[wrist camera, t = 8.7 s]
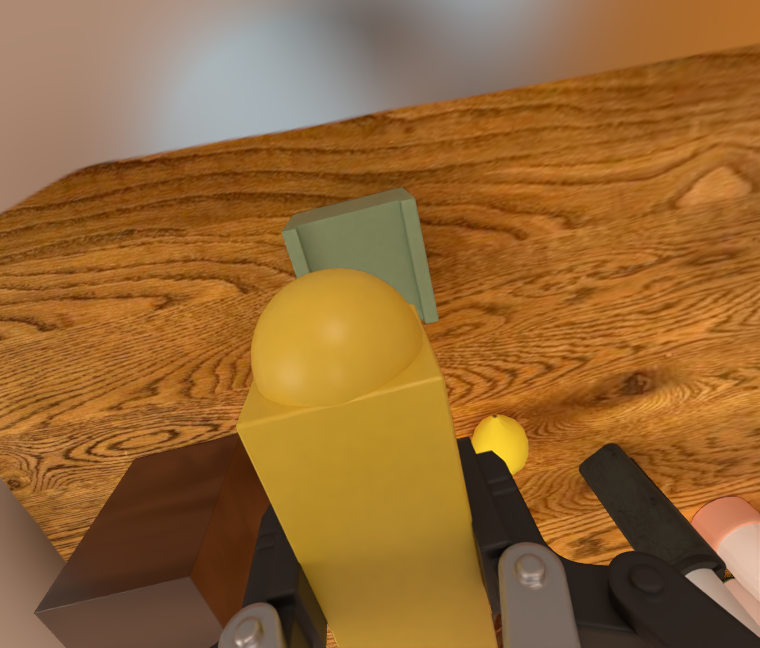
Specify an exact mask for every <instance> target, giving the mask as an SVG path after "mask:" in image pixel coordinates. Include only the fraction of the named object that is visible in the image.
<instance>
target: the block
mask: <svg viewBox="0 0 760 648" xmlns="http://www.w3.org/2000/svg"><path fill="white" fill-rule="evenodd" d="M282 235H283V238H284V241H285V244H286V247H287V250H288V253H289V256H290V259H291V262H292V265H293V268H294V271H295V274H296V277H297V278H299V277H302V276H304V275H306V274H309V273H312V272H315V271H318V270H324V269H333V268H344V269H353V270H358V271H362V272H365V273H368V274H371V275H373V276H375V277H377V278H379V279H381V280H383V281H384V282H386V283H387V284H389V285H390V286H391V287H393V288H394V289H395V290H396V291H397V292H398V293H399V294H400V295H401V296H402V297H403V298H404V299H405V300H406V301H407V303H408V304H409V305H410V304H413V305H414V306H415V308H416V310H417V313H418V315H419V318H420V320H421V321H422V320H424V321H425V323H426V324H428V323H432V322H437V321H439V318H438V313H437V308H436V303H435V298H434V293H433V287H432V282H431V277H430V272H429V267H428V262H427V256H426V251H425V246H424V241H423V236H422V231H421V226H420V220H419V215H418V210H417V205H416V200H415V198H414V197H413V196H412V195H411V194H410V193H409V192H407V191H406V190H405V189H404V188H403V187H400V188H396V189H392V190H388V191H384V192H380V193H376V194H372V195H368V196H364V197H360V198H356V199H352V200H349V201H345V202H341V203H337V204H333V205H329V206H325V207H321V208H317V209H313V210H309V211H305V212H301V213H297V214H294V215H293V216H292V217H291V219H290V220H289V222H288V223H287V225H286V226H285V228H284V229H283V231H282Z"/></svg>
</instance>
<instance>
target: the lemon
mask: <svg viewBox="0 0 760 648" xmlns="http://www.w3.org/2000/svg"><path fill="white" fill-rule="evenodd" d="M471 442H472V445H473V447H474V450H475V452H476V454H478V453H482V452H486V451H491V450H492V451H493V452H494V453H496V454H497V455H498V456H499V457H500V458H502V459H503V460H504V461H505V462H506V464H507V466H508V469H509V471H510V473H511V475H514V474H516V473H517V472H518V471H519V470H521V469H522V468H523V467H524V465H525V462H526V460H527V458H528V444H529V441H528V439H527V436H526V434H525V431H524V428H523V427H522V426H521V425H520V424H519V423H518V422H517V421H516V420H515V419H512V418H509V417H507V416H505V415H491V416H489V417H487V418H485V419H483V420H481V422H480V423H479V424H478V425H477V427H476V428H475V430H474V433H473V437H472V440H471Z"/></svg>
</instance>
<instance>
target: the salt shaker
mask: <svg viewBox="0 0 760 648" xmlns="http://www.w3.org/2000/svg"><path fill="white" fill-rule="evenodd" d="M691 525H692V526H693V527H694V528H695V529H696V531H697V532H698V533H699V534H700V535H701V536H702V537H703V538H704V540H705V541H706V542H707V543H708V544H709V545H710V546H711V547H712V549H713V550H714V551H715V552H716V553H717V554H718V555H719V556H720V557H721V559H722V560H723V561H724V562H725V564H726V567H727V569H728V570H729V571H730V572H731V573H732V575H733V576H734V577H735V578H736V579H737V580H738V582H739V583H740V584H741V585H742V586H743V587H744V588H745V589H746V590H747V591H748V592H749V593H750V594H751V595H753V596H754V597H755V598H756V599H757V600H758V601H759V602H760V514H759V513H758V512H757V511H756V510H755V509H754V508H753V507H752V506H750V505H749V504H748V503H747V502H746V501H745V500H743V499H742V498H738V497H724V498H720V499H717V500H715V501H712V502H710V503H708V504H707V505H705V506H704V507H703V508H701V509H700V510H699V511H698V512H697V514H696V515H695V516H694V518H693V520H692V522H691Z"/></svg>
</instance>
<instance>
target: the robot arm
mask: <svg viewBox="0 0 760 648" xmlns="http://www.w3.org/2000/svg"><path fill="white" fill-rule="evenodd" d="M456 440H457V445H458V450H459V455H460V460H461V465H462V470H463V475H464V480H465V485H466V490H467V495H468V500H469V505H470V510H471V515H472V528H473V533H474V538H475V543H476V548H477V553H478V558H479V563H480V568H481V573H482V578H483V583H484V587H485V591H486V594H487V597H488V600H489V604H490V607H491V610H492V613H493V615H496V614H500V613H501V621H502V637H503V648H760V637H758V636H757V635H756V634H755V633H754V632H752V631H751V630H750V629H749V628H747V627H746V626H745V625H744V624H743V623H741V622H740V621H739V620H738V619H736V618H735V617H734V616H733V615H732V614H730V613H729V612H728V611H727V610H725V609H724V608H723V607H722V606H721V605H719V604H718V603H717V602H716V601H714V600H713V599H712V598H711V597H710V596H708V595H707V594H706V593H705V592H703V591H702V590H701V589H700V588H699V587H697V586H696V585H695V584H694V583H692V582H691V581H690V580H689V579H688V578H686V577H685V576H684V575H683V574H681V573H680V572H679V571H678V570H677V569H675V568H674V567H673V566H672V565H670V564H669V563H668V562H666V561H665V560H663V559H661V558H659V557H657V556H655V555H653V554H649V553H646V552H640V551H629V552H624V553H621V554H619V555H617V556H616V557H615V558H614V559H613V560H612V561H611V562H610V565H609V566H604V565H593V564H583V563H577V562H574V561H570V560H568V559H566V558H564V557H562V556H560V555H558V554H557V553H556V552H554V551H553V550H552V549H551V548H550V547H549V546H548V545H547V544H546V542H545V541H544V539H543V538H542V536H541V534H540V532H539V530H538V528H537V526H536V524H535V521H534V519H533V517H532V515H531V513H530V511H529V509H528V507H527V505H526V503H525V501H524V499H523V497H522V495H521V493H520V491H519V490H518V487H517V485H516V483H515V481H514V479H513V477H512V475H511V473H510V471H509V469H508V466H507V464H506V462H505V461H504V460H503V459H502V458H500V457H499V456H498V455H497V454H496V453H494V452H493V451H492V450H491V451H486V452H482V453H478V454H476V452H475V450H474V447H473V445H472V442H471V440H470V438H469V437H464V438H460V439H456ZM326 639H327V620H326V618H325V616H324V614H323V612H322V610H321V607H320V605H319V603H318V601H317V599H316V597H315V595H314V592H313V590H312V588H311V586H310V584H309V582H308V579H307V577H306V575H305V573H304V571H303V569H302V567H301V564H300V563H299V562H298V560H297V558H296V556H295V554H294V551H293V549H292V547H291V545H290V543H289V541H288V539H287V536H286V534H285V532H284V530H283V528H282V526H281V524H280V522H279V519H278V517H277V515H276V513H275V511H274V509H273V507H272V504H271V503H270V505H269V507H268V508H267V510H266V511H265V513H264V515H263V516H262V518H261V523H260V527H259V532H258V538H257V541H256V545H255V552H254V554H253V559H252V564H251V568H250V573H249V577H248V582H247V586H246V591H245V595H244V600H243V605H242V608H241V610H240V611H239V612H237V613H236V614H235V615H234V616H233V617H232V618H231V619H230V621H229V622H228V623H227V625H226V626H225V628H224V630H223V632H222V634H221V636H220V639H219V641H218V642H217V643H216V644H214V645H213V646H211V647H210V648H326Z"/></svg>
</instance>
